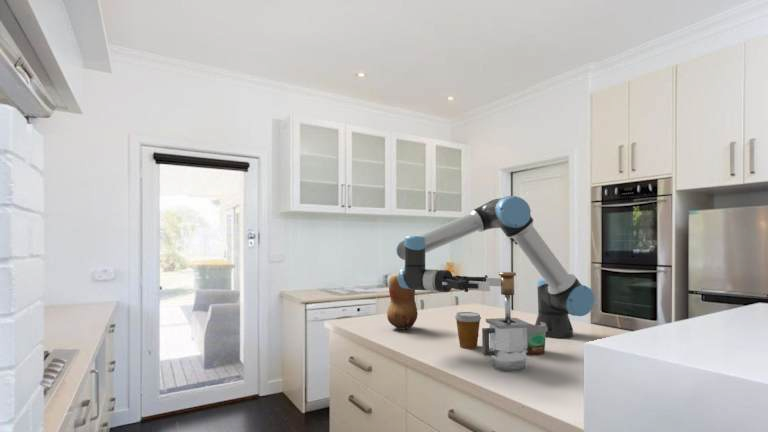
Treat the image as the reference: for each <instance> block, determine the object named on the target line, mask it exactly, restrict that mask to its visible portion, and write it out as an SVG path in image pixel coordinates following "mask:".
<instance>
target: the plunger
mask: <svg viewBox="0 0 768 432" xmlns="http://www.w3.org/2000/svg"><path fill="white" fill-rule="evenodd" d="M516 273H517V272H513V271H500V272H498V276H500V278H501V287H500V294H501V295H502V296H504V312H505V313H504V314H505V316H504V318H505V323H511V318H512V317H511V313H512V312H511V296H515V277H516V276H517V274H516Z"/></svg>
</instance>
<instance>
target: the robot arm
mask: <svg viewBox="0 0 768 432" xmlns="http://www.w3.org/2000/svg"><path fill="white" fill-rule="evenodd" d="M531 212H532V211H531V207H530V205H529V203H528V202H527V201H526V200H525V199H523V198H522V197H519V196H515V195H508V196H503V197H500V198H495V199H491V200H490V201H488V202H486V203H484V204H483V205H480V206H479V207H476V208H474V209H472V210H471V211H470V213H469V214H467V215H464V216H461V217H459V218H457V219H454V220H452V221H450V222H448V223H445V224H443V225H440V226H438V227H435V228H433V229H431V230H428V231H426V232H423V233H421V234H418V235H415V236H414V235H406V236H405V237H404V240H401V242H398V244H397V245H396V255H397V256H398V258H399V259H402V260H403V261H404V268H401V269H400V270H399V272H398V273H399V276H398V282H399V285H400V286H401V287H402V288H406V289H411V290H415V291H429V292H430V293H431V294H432V293H434V292H440V293H449V292H450V291H452V289H453V290H458V291H459V290H460V291H464V293H468V292H469V291H479V292H480V291H481V292H490V287H500V288H501V277H489V276H488V274H487V275H486V274H485V275H484V276H467V275H465V276H464V275H463V276H462V275H455V276H454V275H453V273H452V272H451V271H450V270H448V269H447V270H446V269H432V268H429V269H428V268H427V269H426V254H427V253H429V252H431V251H433V250H436V249H437V248H438V249H439V248H440V247H442V246H445V245H447V244H450V243H451V242H454V241H458V240H459V239H462V238H464V237H466V236H469V235H471V234H473V233H476V232H480V233H482V232H484V231H486V230H491V229H501V231H502V232H503V233H504V235H505V236H506V237H507V238H510V239H511V238H512V239H513V240H514V241H515V242H516V244H517V246H518V247H519V248H520V250H521V251H522V252H523V253H524V254H525V256H526V258H527V259H528V260H529V261H530V263H531V264H532V265H533V266H534V268H535V269H536V271H537V272H538V273H539V274H540V276H541V277H542V278H541V279H539V280H538V281H537V286H536V287H537V309H538V310H537V313H538V314H537V317H536V320H535V323H534V325H538V324H540V322H544V323H546V325H547V328H548V331H547V332H546V336H545V338H546V337H547V338H556V339H566V338H571V337H574V329H573V326H572V323H571V321H570V317H569V315H571V316H575V317H583V316H586V315H588V314H589V313H590V312H591V311H592V310H593V308H594V306H595V301H596V298H595V293H594V292H593V290H592V289H591V288H590V287H588V286H587V285H583V284H582V283H581V282H580V281H579V280H578V278H577V277H576V276H575V274H572V273H568V272H567V269H565V267H564V266H563V264H562V263H561V262H560V260H559V259H558V258H557V256H556V255H555V254H554V252H553V251H552V250H551V248H550V247H549V245H548V244H547V243H546V241H545V240H544V239H543V238H542V236H541V235H540V234H539V232H538V231H537V229H536V228H535V227H534V225H533V224H534V218H533V217H532V215H531Z"/></svg>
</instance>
